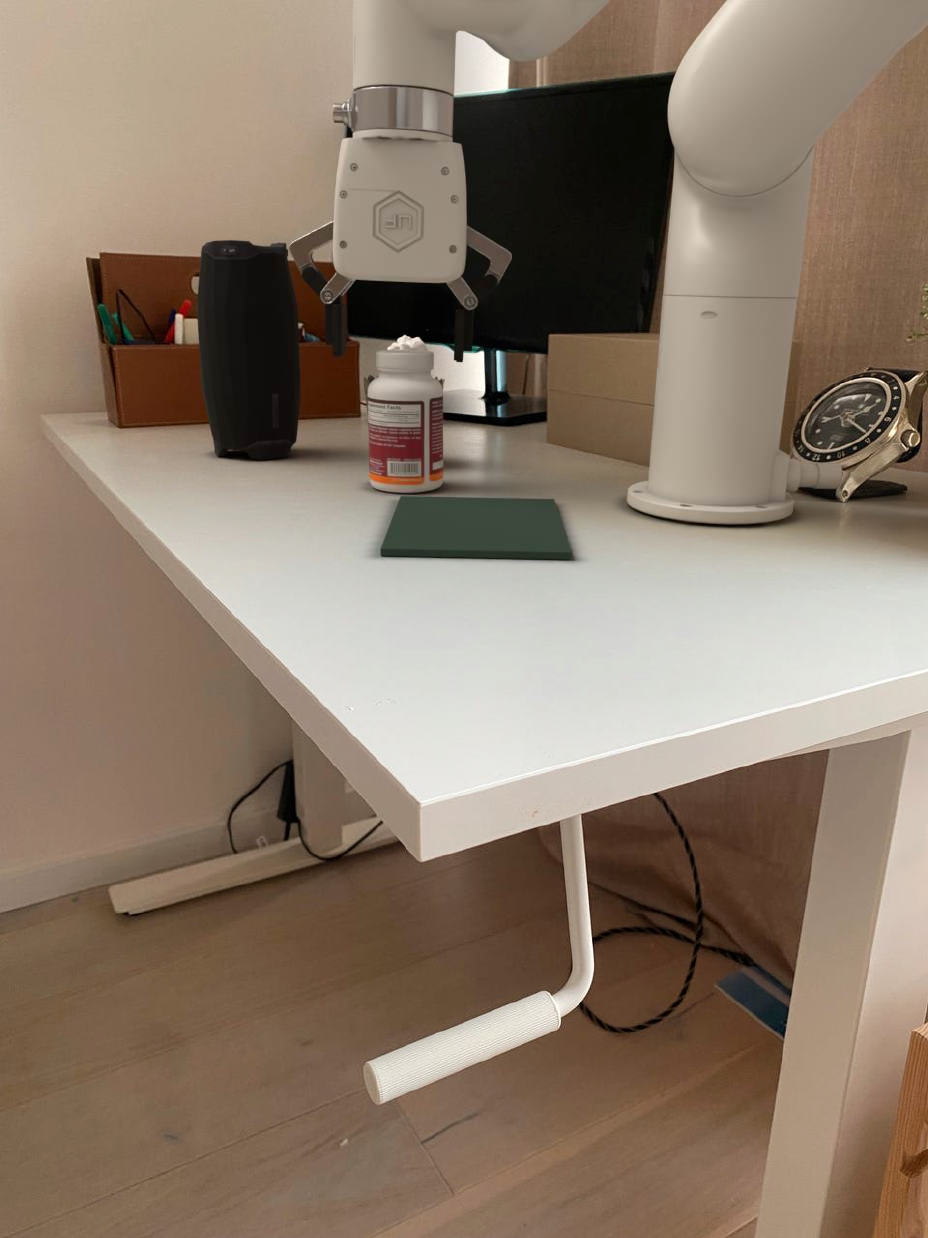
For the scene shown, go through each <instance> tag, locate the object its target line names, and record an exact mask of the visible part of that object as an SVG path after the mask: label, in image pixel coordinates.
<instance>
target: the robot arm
mask: <svg viewBox="0 0 928 1238" xmlns="http://www.w3.org/2000/svg"><path fill="white" fill-rule="evenodd" d="M611 1H612V0H352V91H351V93H350V97H348V100H347V101H343V102H342V103H341V102H340V103H339V102H333V106H332V119H333V123H335V124H343V125H344V126H348V128H349V129H351V132H352V137H345V138H342V139H341V143H340V149H339V154H338V161H337V169H336V177H335V188H334V189H335V191H334V205H333V220H332V221H330V222H327V223H326V224H324V225H322V226H320V227H319V228H318V227H317V228H316V229H314V230H313V231H311V232H308V233H307V234H305V235H303V236H300V237H299V238H297V239H295V240H293V241H292V242H290V243H289V244H288V252H289V253H290V255H291V258H292V259H293V261H294V263H295V265H296V267H297V268H298V271H299V273H300V275H301V278H302V280H303V281H304V282H305V283H306V284H307V286H309V288H310V289H311V290H312V291H313V292H314V293H315V294H316V295H317V296H318V297H319V299H320V301H321V302H322V303H323V304H324V342H325V346H329V347H330V346H332V357H333V358H341V357H343V356H344V355H346V354H347V351H348V349H347V348H348V347H347V337H348V336H347V335H348V334H347V330H348V329H347V328H348V326H347V321H348V320H347V318H348V317H347V315H348V314H347V309H348V308H347V305H345V303H344V295H345V294H346V293H347V291H348V290H349V289H350V287H352V285H353V284H354V283H355V282H356V280H359V281H378V282H399V283H400V282H401V283H402V282H403V283H425V284H426V283H427V284H429V283H431V284H443V283H445V284H446V285H447V286H448V288H449V290H451V292H452V293H453V294H454V296H455V297H456V298H457V300H458V302H457V303H458V305H457V306H458V307H457V309H456V310H455V313H454V314H455V315H454V342H453V361H455V362H456V363H463V362H464V352H473V337H474V313H475V312H474V311H475V308H477V307H478V306H479V305H480V304H481V303H482V302H483V301H484V300H485V299H486V298H487V297H489V296H490V294H491V293H492V292H493V291H494V290H495V289H496V288H497V287H498V285H499V283H500V281H501V279H502V278H503V276H504V274H505V272H506V270H507V269H508V267H509V265H510V263H511V262H512V259H513V255H512V253H511V251H510V250H508V249H507V248H505V247H503V246H501V244H498V242H497V243H496V242H495V241H493V240H491V239H490V238H488V236H487V237H486V235H483V234H482V233H481V232H478V231H477V230H475V229H474V228H472V227H470V226H469V225H468V223H467V220H468V219H467V214H468V213H467V212H468V211H467V180H466V168H465V159H464V152H463V145H462V144H461V143H460V142H459V143H458V142H454V141H453V137H454V108H455V107H454V106H455V79H456V77H455V76H456V75H455V74H456V50H457V49H456V45H457V33H458V32H464V33H467V34H469V35H471V36H474V37H475V38H478V39H480V40H482V41H484V42H485V43H486V44H487V46H489V47H490V48H491V49H492V50H493V51H494V52H495V53H497V54H498V55H500V56H502V57H503V58H505V59H506V60H507V59H508V60H510V61H512V62H513V61H514V62H521V63H526V62H533V61H538V60H540V59H544V58H545V57H547V56H549V55H551V54H553V53H554V52H555V51H557V50H559V49H560V48H561V47H563V46H564V45H566V43H567V42H568V41H570V40H571V39H572V38H573V37H574V36H575V35H577V33H579V31H580V30H582V29H583V27H585V26H586V25H587V24H588V23H589V22H590V21H591V20H593V18H595V16H596V15H598V14H599V12H600V11H602V10H603V9H604V8H605V7H606V6H607V5H608V4H609V3H610V2H611ZM927 27H928V0H725V2H724V3H723V5H721V6H720V8H719V9H718V10H717V12H716V13H715V14H714V15H713V17H712V18H711V19H710V20H709V21H708V23H707V24H706V25H705V27H704V28H703V29H702V30H701V32H700V33H699V34H698V35H697V37H696V38H695V40H694V41H693V43H692V44H691V45H690V47H689V48H688V50H687V51H686V53H685V54H684V56H683V58H682V60H681V61H680V63H679V65H678V67H677V69H676V71H675V74H674V77H673V79H672V82H671V86H670V90H669V94H668V102H667V125H668V131H669V136H670V139H671V143H672V146H673V148H674V157H673V159H674V160H673V161H674V163H673V177H672V178H673V179H672V191H671V199H670V210H669V212H670V213H669V219H668V233H667V241H666V243H667V244H666V255H665V256H666V257H665V265H664V278H663V289H662V290H663V292H662V300H661V310H660V311H661V312H660V323H659V324H660V326H659V336H658V337H659V338H658V350H657V351H658V352H657V363H656V376H655V387H654V388H655V389H654V400H653V402H654V403H653V413H652V427H651V428H652V429H651V439H650V440H651V441H650V453H649V465H648V466H649V467H648V478H647V480H644V481H643V480H642V481H639V482H636V483H633V484H631V485H630V486H629V487H628V488H627V491H626V493H627V495H626V503H627V505H628V506H630V507H631V508H633V509H634V510H636V511H638V512H641V513H644V514H647V515H651V516H655V517H659V518H663V519H669V520H673V521H681V522H690V523H697V524H698V523H699V524H714V525H755V524H764V523H773V522H777V521H781V520H784V519H787V518H788V517H790V516H791V515H792V514H793V512H794V507H795V498H794V496H792V495H790V494H789V493H797V491H798V489H799V488H812V489H814V490H815V489H816V490H838V489H839V488H840V487H841V484H842V481H843V467H842V465H841V464H840V463H833V462H831V463H830V462H827V463H826V462H814V461H808V460H806V461H805V460H804V461H803V460H799V459H798V458H791V455H790V454H788V453H787V452H785V451H782V450H781V449H780V445H781V436H782V430H783V429H782V428H783V420H784V411H785V405H786V404H785V403H786V394H787V388H788V387H787V386H788V378H789V377H788V376H789V369H790V362H791V354H792V346H793V345H792V344H793V337H794V328H795V320H796V319H795V318H796V310H797V303H798V298H799V293H800V292H799V291H800V283H801V274H802V268H803V256H804V249H805V242H806V241H805V239H806V231H807V221H808V212H809V211H808V210H809V201H810V194H811V183H812V174H813V166H814V159H815V151H816V148H817V147H816V146H817V142H818V141H819V140H820V138H821V137H822V136H823V135H824V134H825V133H826V132H827V131H828V129H829V128H830V127H832V125H833V124H834V123H835V122H836V121H837V120H838V119H839V118H840V116H841V115H842V114H843V113H844V112H845V111H846V110H847V109H848V108H849V107H850V105H851V104H852V103H853V102H854V101H855V100H856V99H857V98H858V97H859V96H860V95H861V93H862V92H863V91H865V89H866V88H867V87H868V86H869V85H870V84H871V83H872V81H873V80H874V79H875V78H876V77H877V76H878V75H879V74H880V73H881V71H883V69H884V68H885V67H886V66H887V65H888V64H889V63H890V62H891V61H892V60H893V58H894V57H895V56H896V55H897V54H898V53H899V52H900V51H901V50H902V48H904V46H905V45H907V44H908V43H909V42H910V41H912V40H913V39H914V38H915V37H917V36H918V35H919V34H921V33H922V31H923V30H925V28H927ZM331 243H332V261H333V267H334V269H335V271H336V272H335V274H334V275H333V276H332V278H331V279H330V280H328V278H327V277H326V276H325V275H324V274H323V273H322V272H321V271H320V270H319V269H318V267H317V265H316V263H315V261H314V258H313V254H314V252H316V251H317V250H319V249H322V248H323V247H325V246H327V245H329V244H331ZM467 246H468V247H470V248H471V249H473V250H474V251H476V252H478V253H479V254H481V255H483V256H484V257H486V258H487V259H489V261H490V265H489V267H488V269H487V271H486V273H485V274H484V276H483V278H481V280H479V282H477V283H476V284H475V285H474V286H473V287H472V288H471V287H470V286H469V284H468V283H467V282H466V280H465V278H463V274H464V271H465V267H466V259H467Z"/></svg>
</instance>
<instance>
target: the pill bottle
mask: <svg viewBox="0 0 928 1238" xmlns="http://www.w3.org/2000/svg"><path fill="white" fill-rule="evenodd" d="M375 367H376V368H375V369H376V370H378V376H379V377H378V378H377V377H375V379H374V380H373V381H372V382H371V383H370V385H369V387H368V413H367V423H368V425H367V426H368V428H367V429H368V462H369V463H368V464H369V468H368V469H369V483H370V486H372V488H374V489H376V490H378V491H382V492H387V493H398V494H415V493H416V494H417V493H422V492H423V493H425V492H430V491H434V490H436V489H439V488H440V487H441V486H442V484H443V483H444V388H443V389H442V386H441V384H440V383H439V381H437V380H436V379H435V377H433V376H432V370H434V367H435V352H434V351H430V350H428V351H422V350H387V349H383V350H377V351H375Z"/></svg>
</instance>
